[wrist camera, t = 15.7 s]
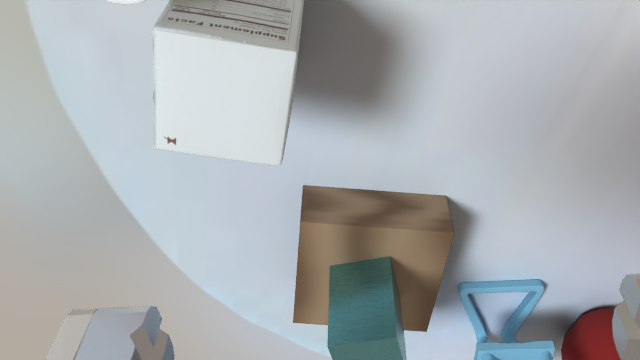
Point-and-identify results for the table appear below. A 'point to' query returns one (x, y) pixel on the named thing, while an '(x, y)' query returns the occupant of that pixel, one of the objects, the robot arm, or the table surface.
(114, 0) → the supplement bottle
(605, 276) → the table surface
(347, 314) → the spice tin
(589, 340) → the tomato
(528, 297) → the chair
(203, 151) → the supplement box
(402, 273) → the walnut block
